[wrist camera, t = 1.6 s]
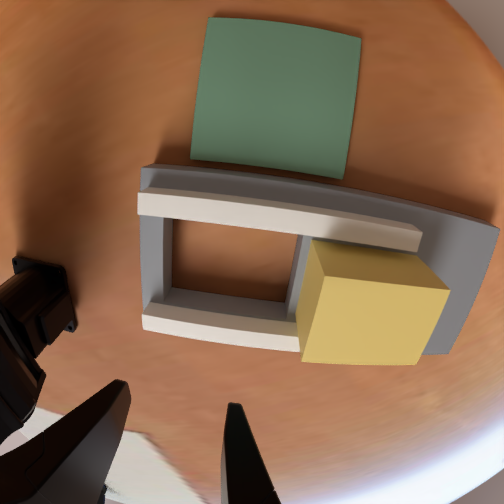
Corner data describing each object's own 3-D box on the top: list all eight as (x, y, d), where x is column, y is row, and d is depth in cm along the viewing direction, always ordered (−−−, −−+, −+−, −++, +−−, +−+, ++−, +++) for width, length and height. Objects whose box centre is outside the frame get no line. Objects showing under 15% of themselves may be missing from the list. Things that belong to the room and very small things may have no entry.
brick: (295, 313, 19) (301, 361, 15) (311, 239, 17) (324, 275, 13) (392, 321, 19) (415, 364, 15) (416, 255, 17) (450, 290, 13)
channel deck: (153, 312, 22) (137, 340, 19) (153, 163, 18) (129, 171, 14) (439, 339, 22) (455, 365, 19) (485, 220, 18) (512, 236, 14)
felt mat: (192, 158, 17) (189, 159, 17) (210, 20, 14) (208, 17, 13) (340, 178, 17) (342, 179, 17) (358, 41, 14) (361, 38, 13)
